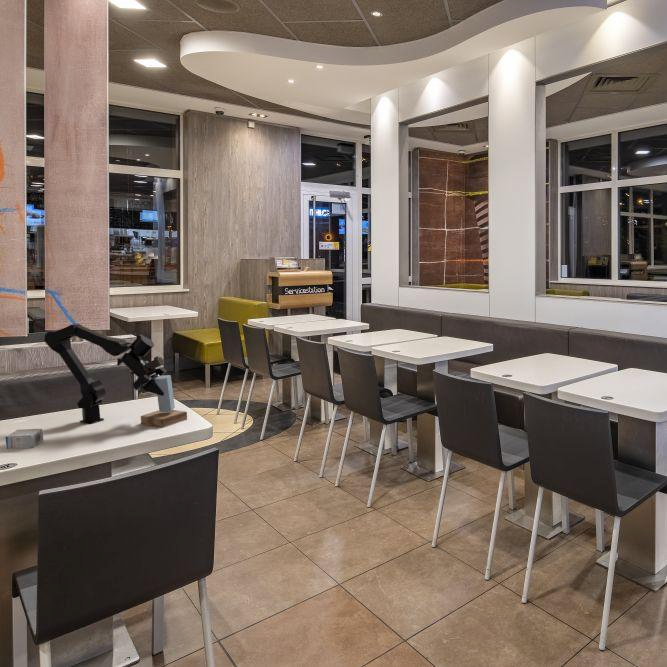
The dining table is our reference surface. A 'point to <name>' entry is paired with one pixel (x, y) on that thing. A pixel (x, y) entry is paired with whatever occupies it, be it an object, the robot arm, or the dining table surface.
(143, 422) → the walnut plinth
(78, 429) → the dining table surface
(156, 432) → the dining table surface
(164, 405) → the pillar block
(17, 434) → the medicine box
